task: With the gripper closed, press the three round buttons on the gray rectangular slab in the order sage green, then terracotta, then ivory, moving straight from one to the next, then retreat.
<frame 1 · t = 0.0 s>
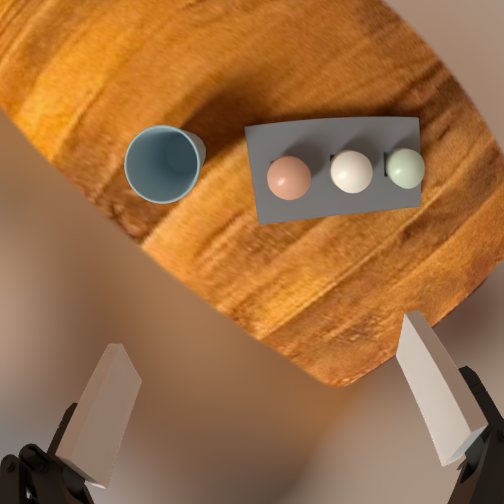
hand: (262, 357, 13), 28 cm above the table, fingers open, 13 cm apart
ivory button: (347, 169, 31), point 5 cm above the table, slide at 0.0 cm
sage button: (401, 166, 31), point 5 cm above the table, slide at 0.0 cm
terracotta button: (287, 175, 32), point 5 cm above the table, slide at 0.0 cm
cup: (185, 152, 36), on the table
gray rectangular slab: (337, 163, 36), on the table
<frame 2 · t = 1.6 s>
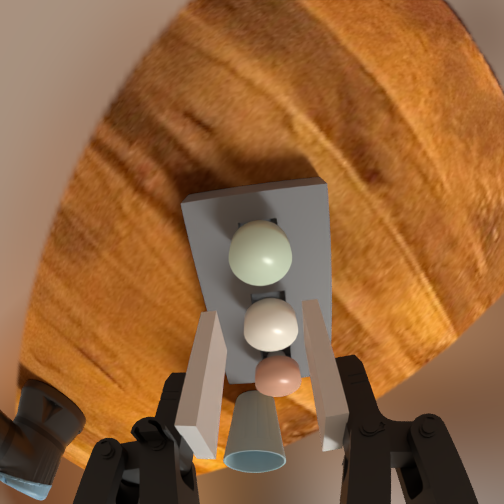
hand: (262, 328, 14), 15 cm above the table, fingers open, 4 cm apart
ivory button: (270, 318, 26), point 5 cm above the table, slide at 0.0 cm
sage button: (260, 247, 23), point 5 cm above the table, slide at 0.0 cm
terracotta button: (277, 369, 29), point 5 cm above the table, slide at 0.0 cm
cup: (255, 400, 39), on the table
gray rectangular slab: (268, 289, 31), on the table
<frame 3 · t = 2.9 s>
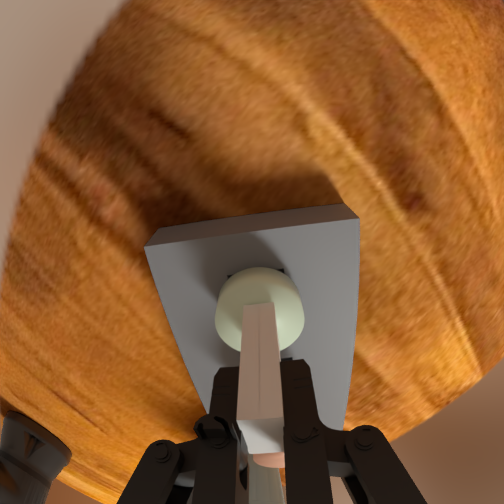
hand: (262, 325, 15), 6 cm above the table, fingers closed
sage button: (259, 301, 17), point 4 cm above the table, slide at 1.2 cm, touching gripper
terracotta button: (280, 438, 21), point 5 cm above the table, slide at 0.0 cm
cup: (253, 450, 31), on the table
gray rectangular slab: (270, 347, 23), on the table
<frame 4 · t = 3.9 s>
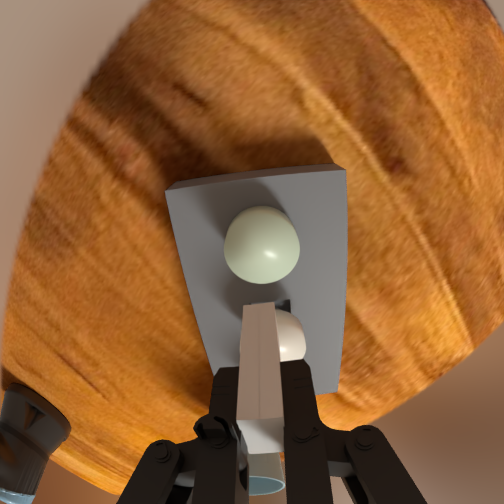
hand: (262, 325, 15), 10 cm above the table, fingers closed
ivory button: (271, 332, 21), point 5 cm above the table, slide at 0.0 cm
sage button: (261, 238, 20), point 3 cm above the table, slide at 1.3 cm
cup: (251, 416, 34), on the table
gray rectangular slab: (269, 296, 26), on the table
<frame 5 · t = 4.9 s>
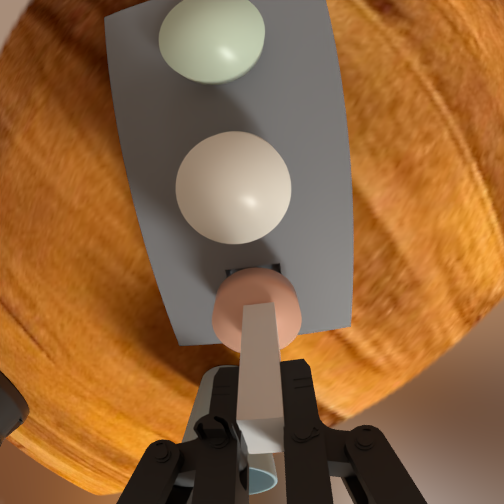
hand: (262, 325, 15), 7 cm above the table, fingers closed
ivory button: (235, 180, 13), point 5 cm above the table, slide at 0.0 cm
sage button: (215, 43, 12), point 3 cm above the table, slide at 1.3 cm
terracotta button: (256, 301, 17), point 4 cm above the table, slide at 0.6 cm, touching gripper
cup: (230, 382, 26), on the table
gray rectangular slab: (239, 165, 18), on the table
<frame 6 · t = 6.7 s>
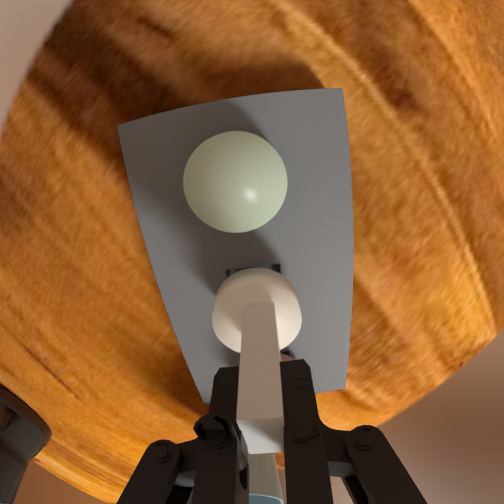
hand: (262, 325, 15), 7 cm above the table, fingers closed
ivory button: (256, 301, 17), point 4 cm above the table, slide at 0.6 cm, touching gripper
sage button: (237, 175, 15), point 3 cm above the table, slide at 1.3 cm
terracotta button: (269, 372, 20), point 3 cm above the table, slide at 1.4 cm
cup: (243, 420, 29), on the table
gray rectangular slab: (255, 267, 21), on the table
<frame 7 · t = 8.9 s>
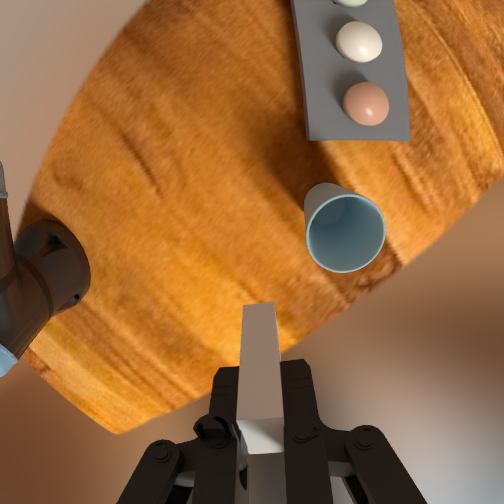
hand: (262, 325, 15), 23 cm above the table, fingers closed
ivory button: (355, 44, 24), point 3 cm above the table, slide at 1.4 cm
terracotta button: (362, 104, 27), point 3 cm above the table, slide at 1.4 cm
cup: (325, 203, 35), on the table
gray rectangular slab: (347, 51, 27), on the table
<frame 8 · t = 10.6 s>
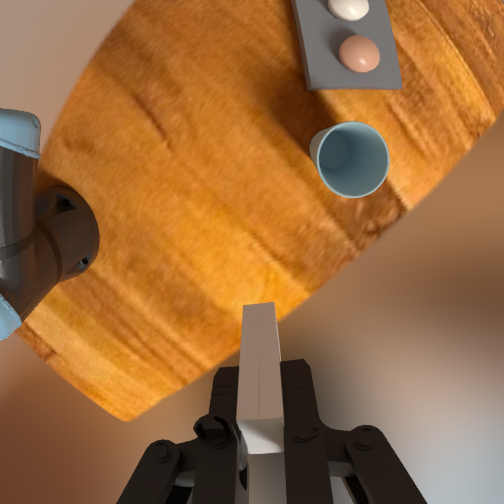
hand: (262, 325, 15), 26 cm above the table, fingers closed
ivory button: (345, 7, 24), point 3 cm above the table, slide at 1.4 cm
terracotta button: (356, 56, 27), point 3 cm above the table, slide at 1.4 cm
cup: (329, 149, 36), on the table
gray rectangular slab: (338, 15, 28), on the table
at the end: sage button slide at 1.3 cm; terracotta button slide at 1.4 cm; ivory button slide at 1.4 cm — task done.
